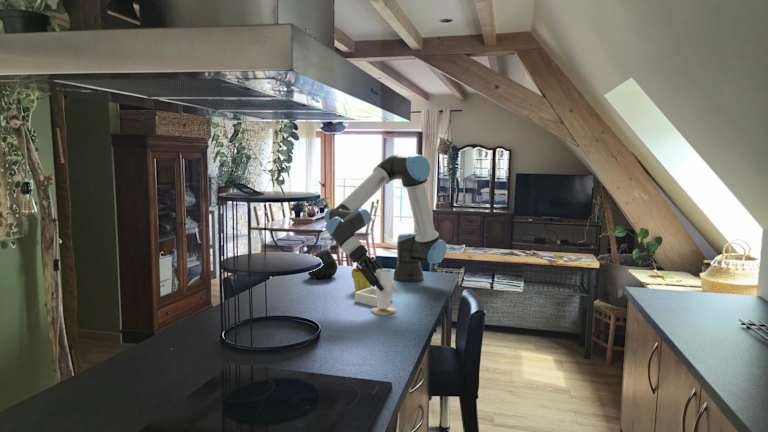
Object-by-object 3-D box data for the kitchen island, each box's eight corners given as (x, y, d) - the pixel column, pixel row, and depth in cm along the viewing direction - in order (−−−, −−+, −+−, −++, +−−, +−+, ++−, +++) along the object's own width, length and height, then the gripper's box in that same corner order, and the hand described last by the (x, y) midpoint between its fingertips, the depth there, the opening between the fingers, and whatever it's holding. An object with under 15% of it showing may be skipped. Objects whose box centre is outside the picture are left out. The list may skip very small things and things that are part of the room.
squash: (299, 265, 258) (310, 246, 250) (325, 263, 268) (335, 244, 259) (309, 287, 251) (320, 269, 242) (335, 284, 260) (346, 266, 251)
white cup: (378, 310, 196) (378, 272, 195) (372, 305, 203) (373, 269, 201) (394, 309, 199) (395, 271, 197) (388, 304, 205) (389, 268, 203)
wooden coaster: (381, 306, 208) (381, 304, 208) (401, 310, 202) (401, 309, 202) (366, 311, 200) (366, 310, 200) (386, 316, 194) (386, 315, 194)
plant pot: (373, 294, 226) (373, 272, 225) (350, 293, 226) (350, 272, 225) (374, 288, 236) (374, 267, 235) (352, 287, 237) (352, 267, 235)
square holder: (371, 295, 223) (371, 286, 222) (392, 300, 216) (392, 291, 216) (354, 301, 214) (354, 292, 213) (376, 306, 207) (376, 296, 207)
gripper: (358, 251, 213) (394, 293, 209) (337, 260, 195) (376, 306, 191) (370, 240, 210) (406, 282, 206) (350, 247, 192) (389, 294, 188)
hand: (392, 293), depth 199 cm, fingers closed on white cup, 7 cm apart
